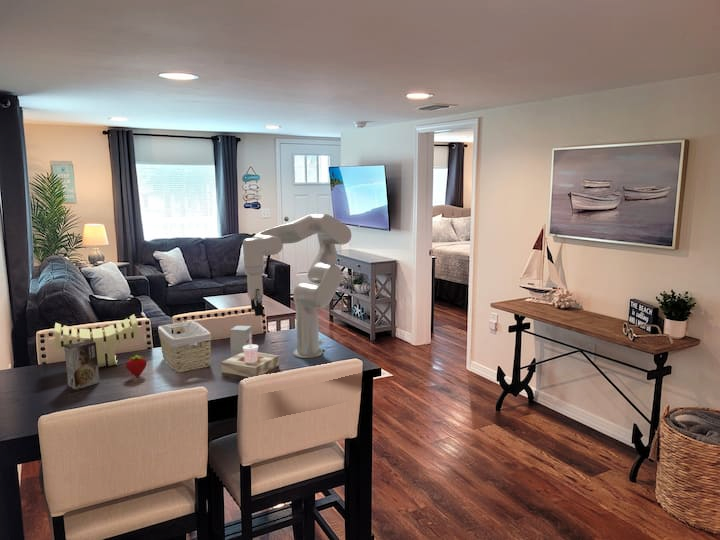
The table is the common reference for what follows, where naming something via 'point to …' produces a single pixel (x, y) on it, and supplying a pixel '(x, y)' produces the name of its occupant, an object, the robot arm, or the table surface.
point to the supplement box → (239, 339)
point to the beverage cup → (250, 352)
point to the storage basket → (186, 346)
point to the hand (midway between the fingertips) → (257, 312)
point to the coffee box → (81, 363)
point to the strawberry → (136, 365)
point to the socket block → (249, 366)
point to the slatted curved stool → (100, 338)
